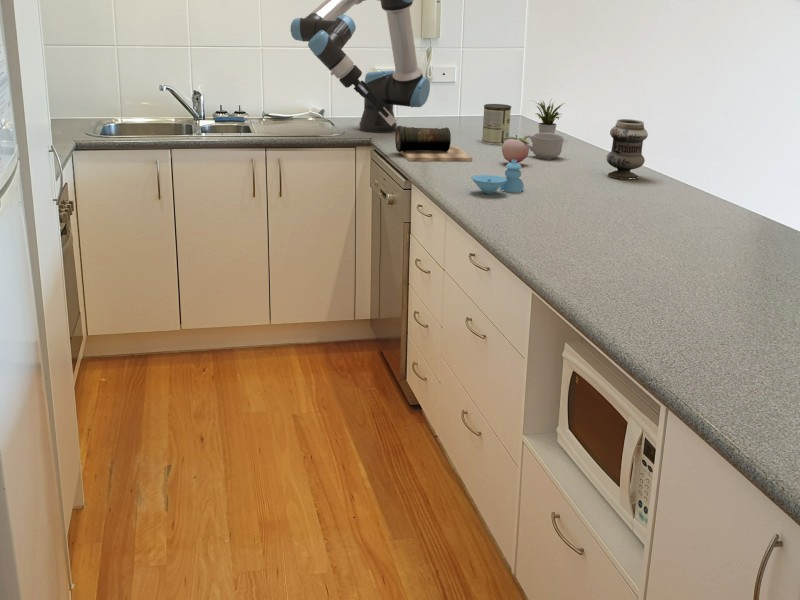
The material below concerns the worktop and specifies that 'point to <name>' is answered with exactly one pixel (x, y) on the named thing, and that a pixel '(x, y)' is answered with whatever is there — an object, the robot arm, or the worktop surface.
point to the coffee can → (496, 123)
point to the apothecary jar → (626, 147)
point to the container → (422, 139)
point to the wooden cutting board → (437, 155)
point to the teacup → (546, 145)
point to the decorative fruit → (515, 149)
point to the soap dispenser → (501, 180)
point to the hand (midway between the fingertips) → (393, 122)
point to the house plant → (548, 118)
